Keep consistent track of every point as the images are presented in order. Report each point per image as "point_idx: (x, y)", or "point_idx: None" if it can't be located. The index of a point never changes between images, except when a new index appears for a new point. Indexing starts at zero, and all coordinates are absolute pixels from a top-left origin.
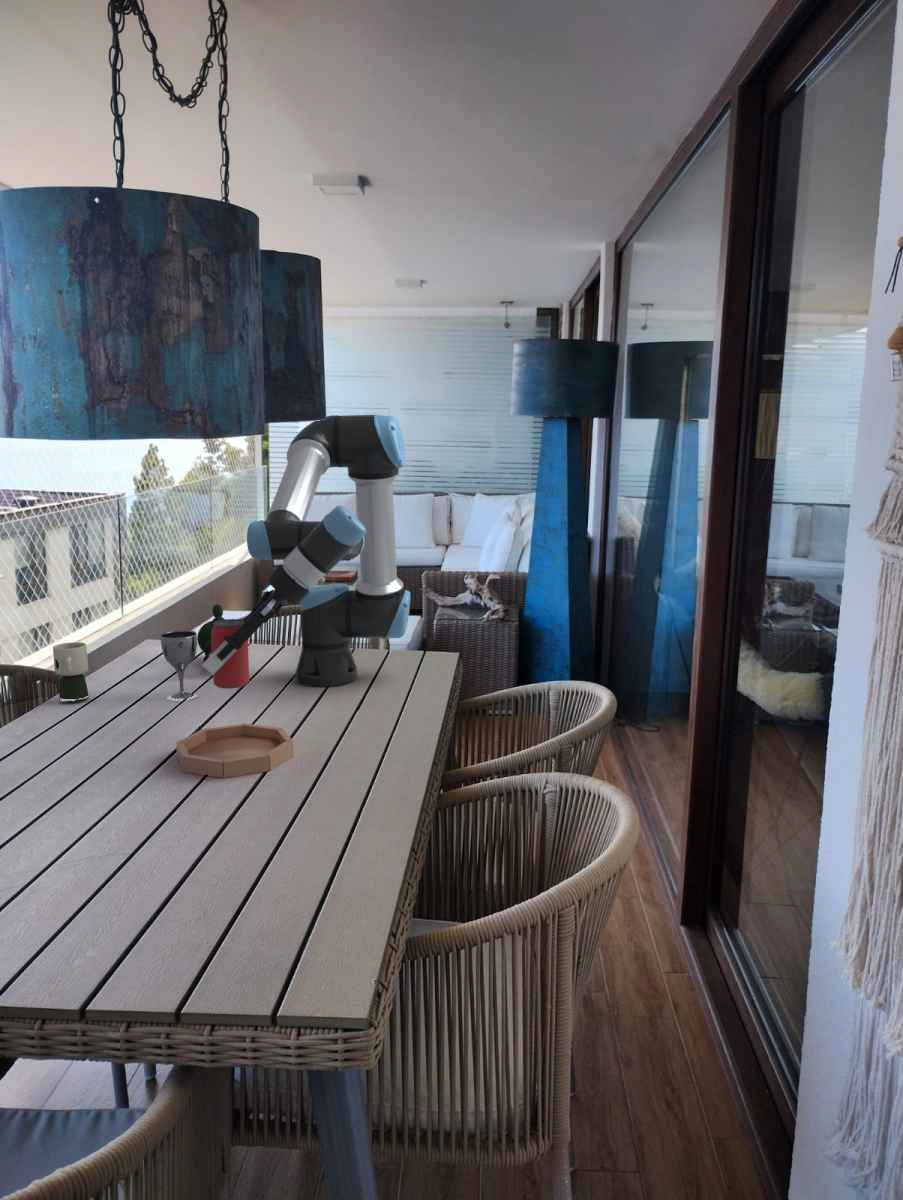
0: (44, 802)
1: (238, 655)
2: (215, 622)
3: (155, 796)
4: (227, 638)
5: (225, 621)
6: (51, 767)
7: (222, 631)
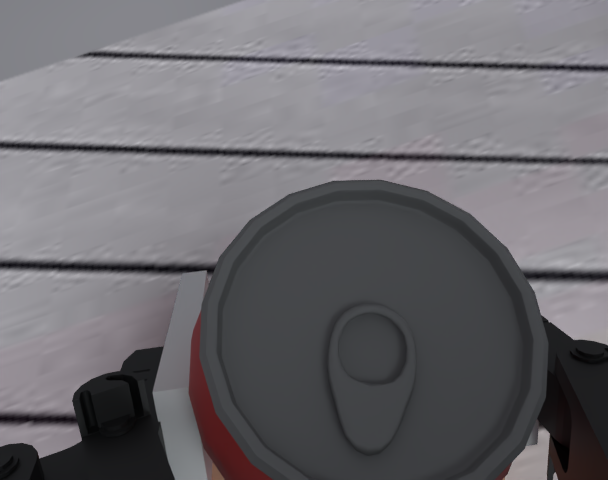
0: (22, 123)
1: None
2: (358, 193)
3: (13, 333)
4: (81, 422)
5: (478, 261)
6: (224, 66)
7: (200, 325)
